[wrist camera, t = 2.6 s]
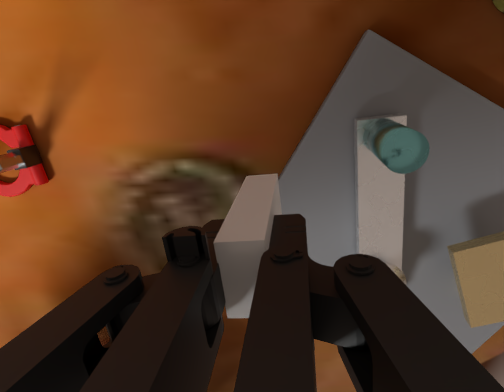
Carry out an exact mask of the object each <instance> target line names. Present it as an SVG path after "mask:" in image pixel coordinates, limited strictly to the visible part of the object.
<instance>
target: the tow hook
mask: <svg viewBox="0 0 504 392" xmlns="http://www.w3.org/2000/svg"><path fill="white" fill-rule="evenodd" d="M11 128H12V129H10V128H8V127H6V126H3V125H1V124H0V140H1V141H3V142H5V143H6V144H7V145H8V146H9V147H11V148H16V147H20V148H16V149H12V150H8V151H7V153H8V154H3V155H0V173H3V172H6V171H9V170H12V169H15V170H18V169H20V173H19V176H18V178H17V179H16V181H15V182H13V183H6V182H3V181H0V195H2V196H9V197H12V196H17V195H20V194H22V193H24V192H26V191H27V190H29V189H30V187H31V186H32V185H33V184H35V185H42V184H45V183H48V182H49V180H48V178H47V175H46V173H45V170H44V168H43V165H42V160H41V157H40V155H39V152H38V150H37V147H36V145H34V143H33V140H32V138H31V135H30V133H29V130H28V128H27V125H18V126H14V127H11Z"/></svg>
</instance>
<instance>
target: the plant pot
mask: <svg viewBox="0 0 504 392" xmlns="http://www.w3.org/2000/svg"><path fill="white" fill-rule="evenodd" d="M492 1H493V3H494V5H495V6H496V8H497V9H498V10H499V11H501V12H503V13H504V0H492Z"/></svg>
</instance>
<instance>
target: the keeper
mask: <svg viewBox="0 0 504 392" xmlns="http://www.w3.org/2000/svg"><path fill="white" fill-rule="evenodd" d="M447 248H448V252H449V256H450V260H451V264H452V269H453V273H454V277H455V281H456V285H457V289H458V293H459V297H460V301H461V305H462V309H463V313H464V317H465V320H466V321H467V323H468V324H469V326H470V327H471V328H474V327H479V326H484V325H489V324H493V323H498V322H503V321H504V231H503V232H499V233H495V234H491V235H488V236H484V237H480V238H476V239H472V240H469V241H465V242H461V243H457V244H453V245H449V246H447Z"/></svg>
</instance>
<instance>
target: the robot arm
mask: <svg viewBox="0 0 504 392" xmlns="http://www.w3.org/2000/svg"><path fill="white" fill-rule="evenodd" d="M162 240H163V244H164V248H165V252H166V256H167V260H168V262H167V264H166V265H165V267H164V268H163V270H162V271H161V273H157V274H152V275H148V276H144V277H142V276H141V272H140V269H139V268H138V267H137V266H134V265H120V266H115V267H113V268H111V269H109V270H107V271H105V272H103V273H102V274H100V275H98V276H97V277H96V278H94V279H93V280H92V281H90V282H89V283H88V284H86V285H85V286H84V287H82V288H81V289H80V290H78V291H77V292H76V293H74V294H73V295H72V296H70V297H69V298H68V299H66V300H65V301H64V302H62V303H61V304H60V305H58V306H57V307H55V308H54V309H53V310H51V311H50V312H49V313H47V314H46V315H45V316H43V317H42V318H41V319H39V320H38V321H37V322H35V323H34V324H33V325H31V326H30V327H29V328H27V329H26V330H25V331H23V332H22V333H21V334H19V335H18V336H17V337H15V338H14V339H13V340H11V341H10V342H8V343H7V344H6V345H4V346H3V347H2V348H0V392H206V391H207V388H208V384H209V381H210V377H211V373H212V370H213V366H214V363H215V359H216V356H217V352H218V349H219V345H220V342H221V338H222V335H223V331H224V323H223V318H222V313H223V309H224V306H225V307H226V313H227V318H249V319H248V324H247V329H246V334H245V339H244V344H243V349H242V354H241V359H240V364H239V369H238V374H237V379H236V384H235V389H234V392H317V388H316V371H315V354H314V350H315V348H314V339H317V340H320V341H324V342H328V343H331V344H335V345H337V347H338V352H339V354H340V356H341V358H342V361H343V363H344V365H345V367H346V369H347V372H348V374H349V376H350V378H351V380H352V382H353V385H354V387H355V389H356V391H357V392H504V388H503V387H502V386H501V385H500V384H499V383H498V382H497V381H496V380H495V379H494V377H493V376H492V375H491V374H490V373H489V372H488V371H487V370H486V369H485V368H484V367H483V366H482V365H481V364H480V363H479V362H478V361H477V360H476V358H475V357H474V356H473V355H472V354H471V353H470V352H469V351H468V350H467V349H466V348H465V347H464V346H463V345H462V344H461V343H460V342H459V341H458V339H457V338H456V337H455V336H454V335H453V334H452V333H451V332H450V331H449V330H448V329H447V328H446V327H445V326H444V325H443V324H442V323H441V322H440V320H439V319H438V318H437V317H436V316H435V315H434V314H433V313H432V312H431V311H430V310H429V309H428V308H427V307H426V306H425V305H424V304H423V303H422V301H421V300H420V299H419V298H418V297H417V296H416V295H415V294H414V293H413V292H412V291H411V290H410V289H409V288H408V287H407V286H406V285H405V284H404V282H403V281H402V280H401V279H400V278H399V277H398V276H397V275H396V274H395V273H394V272H393V271H392V270H391V269H390V268H389V267H388V266H387V265H386V263H384V262H383V261H381V260H380V259H379V258H376V257H373V256H370V255H366V254H351V255H347V256H343V257H341V258H340V259H338V260H337V261H336V262H335V264H334V266H333V267H332V266H326V265H322V264H319V263H317V262H315V261H313V260H312V259H311V258H310V257H309V256H308V245H307V232H306V219H305V218H304V217H303V216H302V215H301V214H284V215H282V212H281V202H280V193H279V183H278V173H277V174H265V175H253V176H246V178H245V180H244V182H243V184H242V186H241V188H240V190H239V192H238V194H237V196H236V198H235V200H234V202H233V204H232V206H231V208H230V210H229V212H228V214H227V216H226V218H225V219H220V220H211V221H210V222H208V223H207V224H206V225H204V226H203V228H201V227H198V226H188V227H182V228H178V229H175V230H173V231H170V232H168V233H167V234H165V235H164V236H163V237H162ZM105 325H106V328H107V331H108V334H109V337H110V341H109V342H108V343H107V344H105V345H104V346H102V345H101V343H100V340H99V338H98V335H97V333H98V332H99V331H100V330H101V329H102V328H103V327H104V326H105Z"/></svg>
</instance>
